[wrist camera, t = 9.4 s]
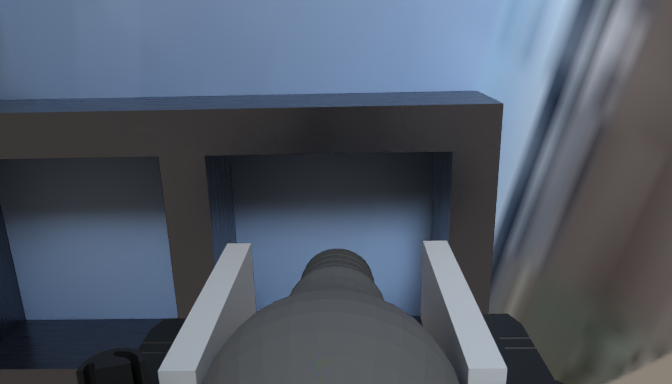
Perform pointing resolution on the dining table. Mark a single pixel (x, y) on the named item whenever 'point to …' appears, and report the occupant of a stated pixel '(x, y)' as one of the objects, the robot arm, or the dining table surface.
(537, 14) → the dining table surface
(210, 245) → the rectangular frame
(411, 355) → the light bulb
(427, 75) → the dining table surface
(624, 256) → the dining table surface
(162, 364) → the robot arm
